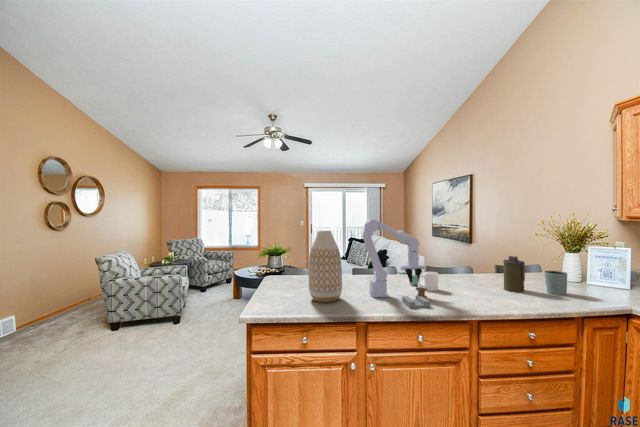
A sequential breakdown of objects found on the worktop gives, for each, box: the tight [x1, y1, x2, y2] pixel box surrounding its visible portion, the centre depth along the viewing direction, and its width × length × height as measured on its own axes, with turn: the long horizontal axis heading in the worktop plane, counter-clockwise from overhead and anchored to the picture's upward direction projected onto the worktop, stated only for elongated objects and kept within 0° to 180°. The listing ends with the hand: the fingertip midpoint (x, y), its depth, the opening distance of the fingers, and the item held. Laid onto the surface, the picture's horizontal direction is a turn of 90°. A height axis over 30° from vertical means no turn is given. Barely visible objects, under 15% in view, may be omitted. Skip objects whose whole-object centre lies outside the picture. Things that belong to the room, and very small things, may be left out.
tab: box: [409, 274, 419, 288], centre depth 163 cm, size 3×7×6 cm, turn 4°
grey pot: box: [544, 270, 568, 296], centre depth 164 cm, size 10×10×12 cm
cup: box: [418, 271, 439, 292], centre depth 176 cm, size 8×12×10 cm
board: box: [401, 295, 431, 309], centre depth 148 cm, size 10×10×3 cm
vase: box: [308, 230, 343, 303], centre depth 160 cm, size 19×18×38 cm
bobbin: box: [415, 286, 428, 300], centre depth 160 cm, size 6×6×5 cm
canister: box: [502, 255, 526, 294], centre depth 171 cm, size 11×10×20 cm
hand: (413, 282), depth 165 cm, fingers closed on tab, 3 cm apart
